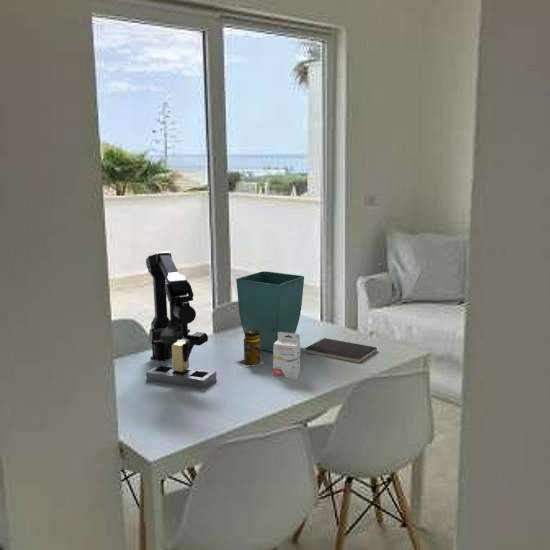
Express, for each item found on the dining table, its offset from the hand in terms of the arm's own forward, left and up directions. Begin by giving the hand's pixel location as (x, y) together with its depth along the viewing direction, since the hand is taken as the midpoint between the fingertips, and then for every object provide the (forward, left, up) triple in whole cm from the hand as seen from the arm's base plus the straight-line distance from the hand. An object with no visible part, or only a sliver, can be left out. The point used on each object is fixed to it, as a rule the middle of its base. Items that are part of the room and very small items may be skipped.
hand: (180, 360), depth 200 cm
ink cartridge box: (+32, +17, -7) cm, 37 cm away
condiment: (+15, +24, -7) cm, 29 cm away
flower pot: (+15, +45, -7) cm, 48 cm away
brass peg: (0, 0, -3) cm, 3 cm away
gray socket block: (0, 0, -7) cm, 7 cm away
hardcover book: (+43, +48, -8) cm, 65 cm away
